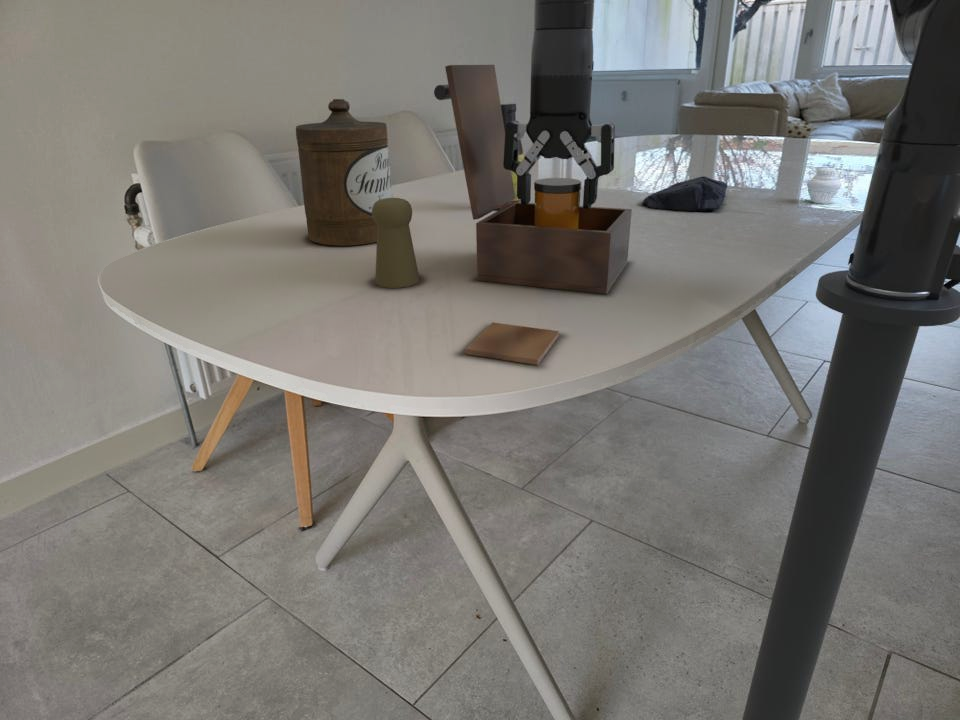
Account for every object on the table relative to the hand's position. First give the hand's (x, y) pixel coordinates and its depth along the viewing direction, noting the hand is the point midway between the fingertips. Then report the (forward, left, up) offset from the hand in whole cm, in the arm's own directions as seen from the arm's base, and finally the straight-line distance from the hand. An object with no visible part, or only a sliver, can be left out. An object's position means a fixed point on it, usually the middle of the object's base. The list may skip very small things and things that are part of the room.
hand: (556, 205), depth 83 cm
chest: (0, 0, -9) cm, 9 cm away
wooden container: (+39, -9, -9) cm, 41 cm away
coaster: (-3, +26, -9) cm, 28 cm away
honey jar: (0, 0, -8) cm, 8 cm away
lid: (+10, 0, +8) cm, 13 cm away
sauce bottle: (+21, -39, -9) cm, 45 cm away
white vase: (-38, -63, -9) cm, 74 cm away
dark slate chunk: (-13, -57, -9) cm, 59 cm away
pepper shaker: (+19, +11, -9) cm, 24 cm away
